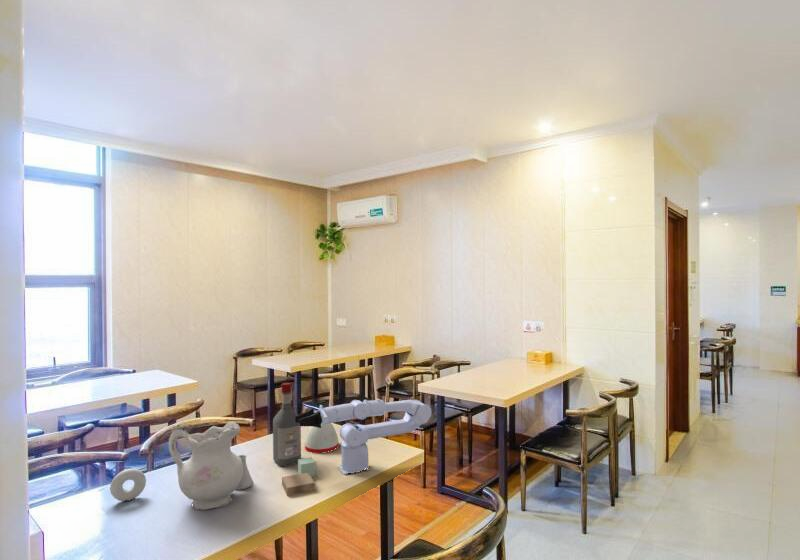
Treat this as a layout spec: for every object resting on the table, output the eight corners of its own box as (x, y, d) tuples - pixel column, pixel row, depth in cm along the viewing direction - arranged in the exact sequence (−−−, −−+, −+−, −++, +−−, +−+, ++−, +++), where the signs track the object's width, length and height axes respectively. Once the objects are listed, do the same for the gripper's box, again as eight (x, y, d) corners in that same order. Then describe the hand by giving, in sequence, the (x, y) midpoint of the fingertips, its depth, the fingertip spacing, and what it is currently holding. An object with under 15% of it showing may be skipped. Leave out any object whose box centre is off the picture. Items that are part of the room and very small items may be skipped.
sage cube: (311, 470, 168) (311, 457, 168) (315, 475, 164) (314, 461, 164) (298, 473, 166) (297, 459, 166) (301, 478, 161) (300, 464, 161)
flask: (245, 491, 152) (245, 461, 152) (226, 489, 154) (225, 459, 154) (256, 481, 159) (256, 453, 159) (238, 480, 161) (237, 451, 161)
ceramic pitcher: (169, 527, 133) (169, 443, 131) (168, 494, 150) (168, 419, 148) (247, 509, 143) (248, 431, 141) (238, 480, 160) (238, 410, 158)
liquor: (303, 462, 176) (302, 384, 175) (279, 468, 170) (278, 387, 170) (294, 454, 183) (293, 379, 183) (271, 460, 178) (270, 383, 178)
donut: (110, 507, 143) (109, 474, 143) (109, 502, 146) (109, 471, 145) (146, 498, 148) (146, 467, 148) (145, 493, 151) (145, 463, 151)
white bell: (345, 446, 192) (344, 410, 192) (319, 456, 182) (318, 418, 182) (324, 438, 201) (323, 404, 201) (298, 447, 191) (297, 411, 191)
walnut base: (308, 480, 160) (308, 472, 160) (314, 491, 152) (314, 482, 152) (282, 485, 157) (281, 477, 157) (287, 497, 149) (287, 488, 149)
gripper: (328, 400, 173) (292, 407, 168) (339, 405, 160) (300, 412, 154) (330, 419, 173) (294, 426, 167) (341, 425, 159) (302, 433, 154)
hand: (297, 421), depth 161 cm, fingers open, 7 cm apart
